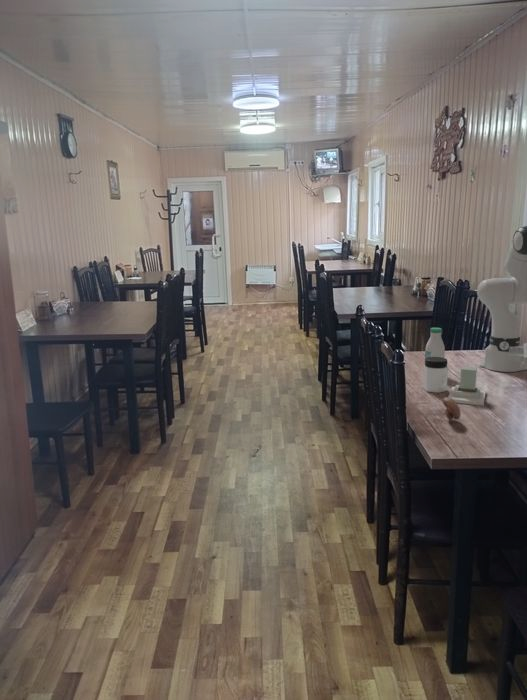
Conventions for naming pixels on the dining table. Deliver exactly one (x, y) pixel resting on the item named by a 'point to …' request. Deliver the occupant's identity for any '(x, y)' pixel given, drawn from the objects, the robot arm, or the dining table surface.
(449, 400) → the mushroom
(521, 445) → the dining table surface
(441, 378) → the jar
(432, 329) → the milk bottle
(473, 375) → the plug
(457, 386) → the socket
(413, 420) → the dining table surface
